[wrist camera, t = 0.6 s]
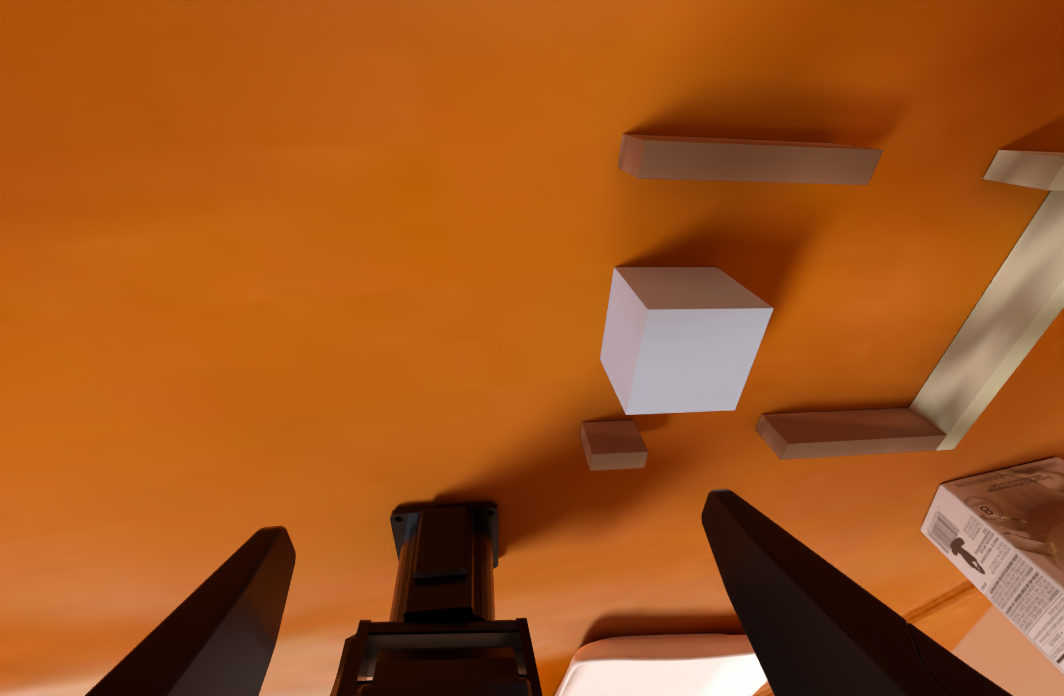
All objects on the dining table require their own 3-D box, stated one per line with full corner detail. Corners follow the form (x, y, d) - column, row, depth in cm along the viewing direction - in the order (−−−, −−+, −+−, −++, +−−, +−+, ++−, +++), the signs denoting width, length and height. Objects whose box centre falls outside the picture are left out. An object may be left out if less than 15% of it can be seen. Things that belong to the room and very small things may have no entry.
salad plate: (692, 707, 50) (706, 745, 47) (520, 719, 46) (523, 761, 43) (779, 612, 40) (803, 653, 37) (566, 616, 36) (575, 663, 33)
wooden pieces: (915, 421, 27) (953, 449, 25) (579, 437, 24) (589, 470, 22) (1097, 154, 19) (1176, 161, 17) (622, 133, 16) (644, 140, 14)
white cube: (690, 355, 22) (734, 410, 19) (599, 358, 22) (626, 414, 18) (716, 266, 20) (773, 308, 16) (613, 266, 19) (647, 309, 15)
